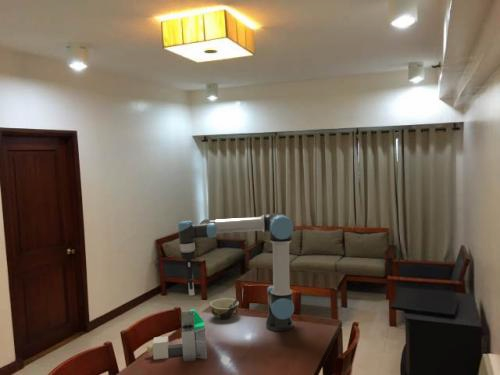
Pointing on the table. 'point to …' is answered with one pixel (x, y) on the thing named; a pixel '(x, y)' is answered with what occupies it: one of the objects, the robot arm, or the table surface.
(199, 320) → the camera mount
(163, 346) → the grey beam
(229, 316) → the bowl
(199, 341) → the housing
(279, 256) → the robot arm
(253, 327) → the table surface
